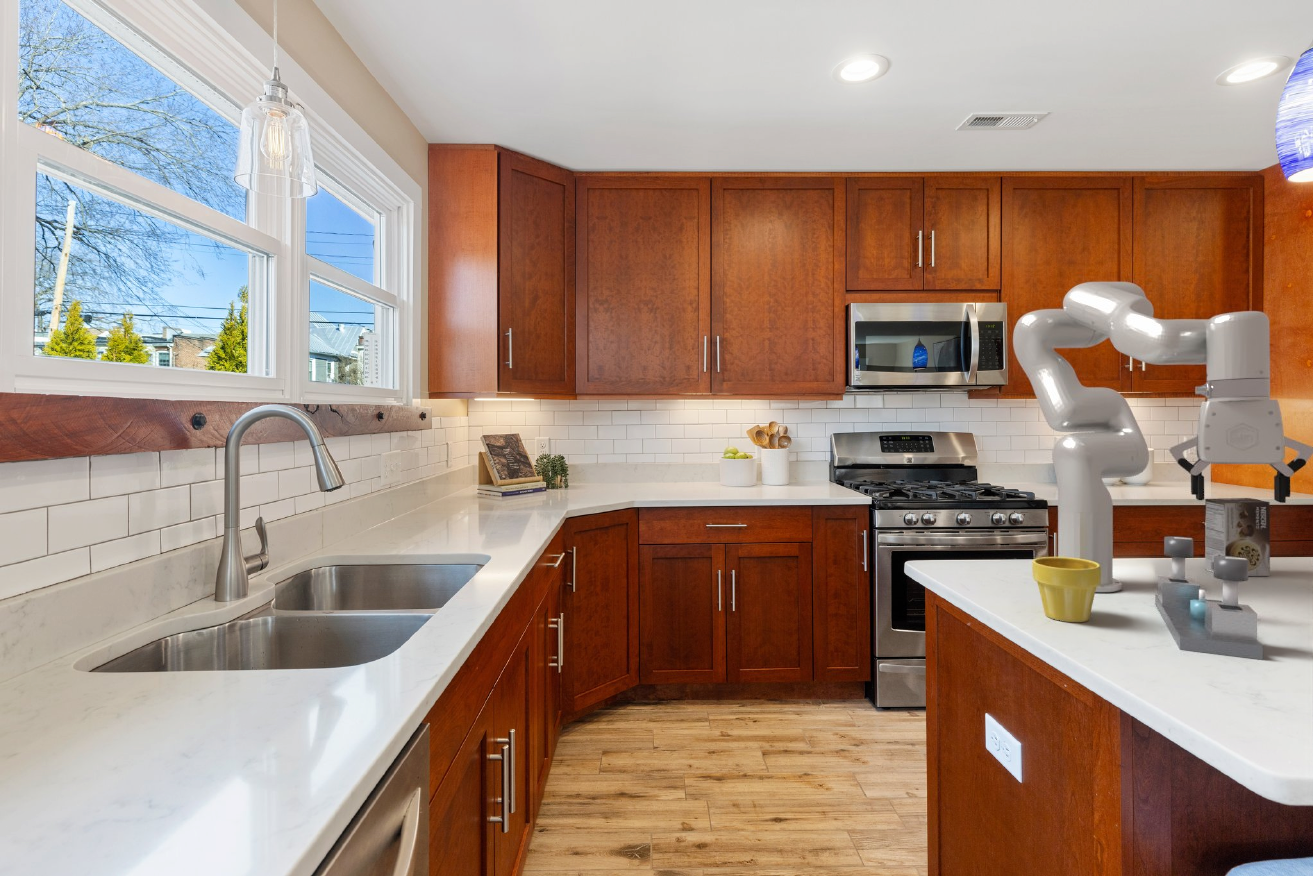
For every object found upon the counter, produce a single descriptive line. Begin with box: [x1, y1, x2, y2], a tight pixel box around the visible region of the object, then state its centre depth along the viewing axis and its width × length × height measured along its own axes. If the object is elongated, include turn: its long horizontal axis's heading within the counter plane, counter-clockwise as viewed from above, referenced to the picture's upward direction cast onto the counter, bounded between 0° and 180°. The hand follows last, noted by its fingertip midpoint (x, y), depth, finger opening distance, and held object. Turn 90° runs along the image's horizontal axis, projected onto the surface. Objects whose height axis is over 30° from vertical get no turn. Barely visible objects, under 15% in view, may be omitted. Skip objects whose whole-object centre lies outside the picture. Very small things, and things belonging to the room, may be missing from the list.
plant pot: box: [1031, 556, 1101, 623], centre depth 118 cm, size 10×10×10 cm
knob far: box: [1163, 535, 1194, 579], centre depth 118 cm, size 4×4×7 cm
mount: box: [1154, 575, 1264, 661], centre depth 111 cm, size 10×26×6 cm, turn 150°
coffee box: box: [1204, 497, 1271, 577], centre depth 146 cm, size 9×6×16 cm
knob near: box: [1213, 556, 1249, 606], centre depth 102 cm, size 4×4×7 cm
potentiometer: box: [1190, 588, 1206, 620], centre depth 111 cm, size 3×3×4 cm
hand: (1239, 500), depth 106 cm, fingers open, 9 cm apart
